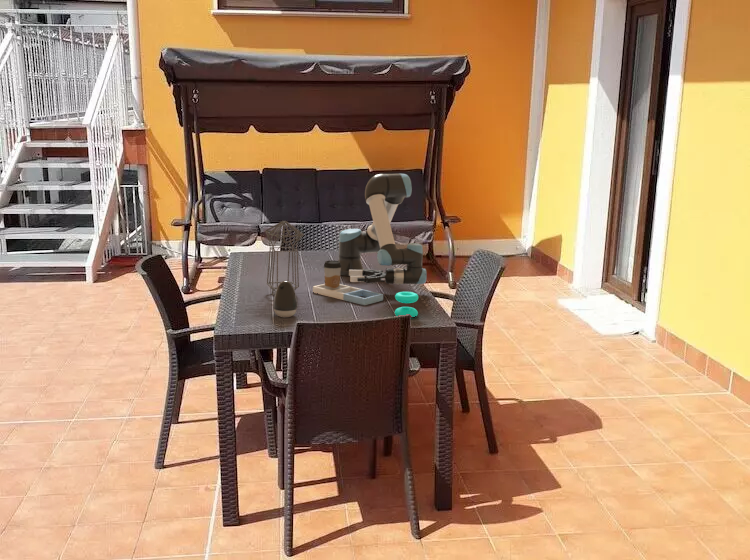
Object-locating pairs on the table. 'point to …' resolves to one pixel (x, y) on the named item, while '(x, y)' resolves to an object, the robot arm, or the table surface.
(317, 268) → the table surface
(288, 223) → the geometric lantern
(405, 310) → the donuts
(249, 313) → the table surface
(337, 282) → the coffee cup
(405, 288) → the table surface
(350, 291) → the gap frame
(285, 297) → the pump dispenser
